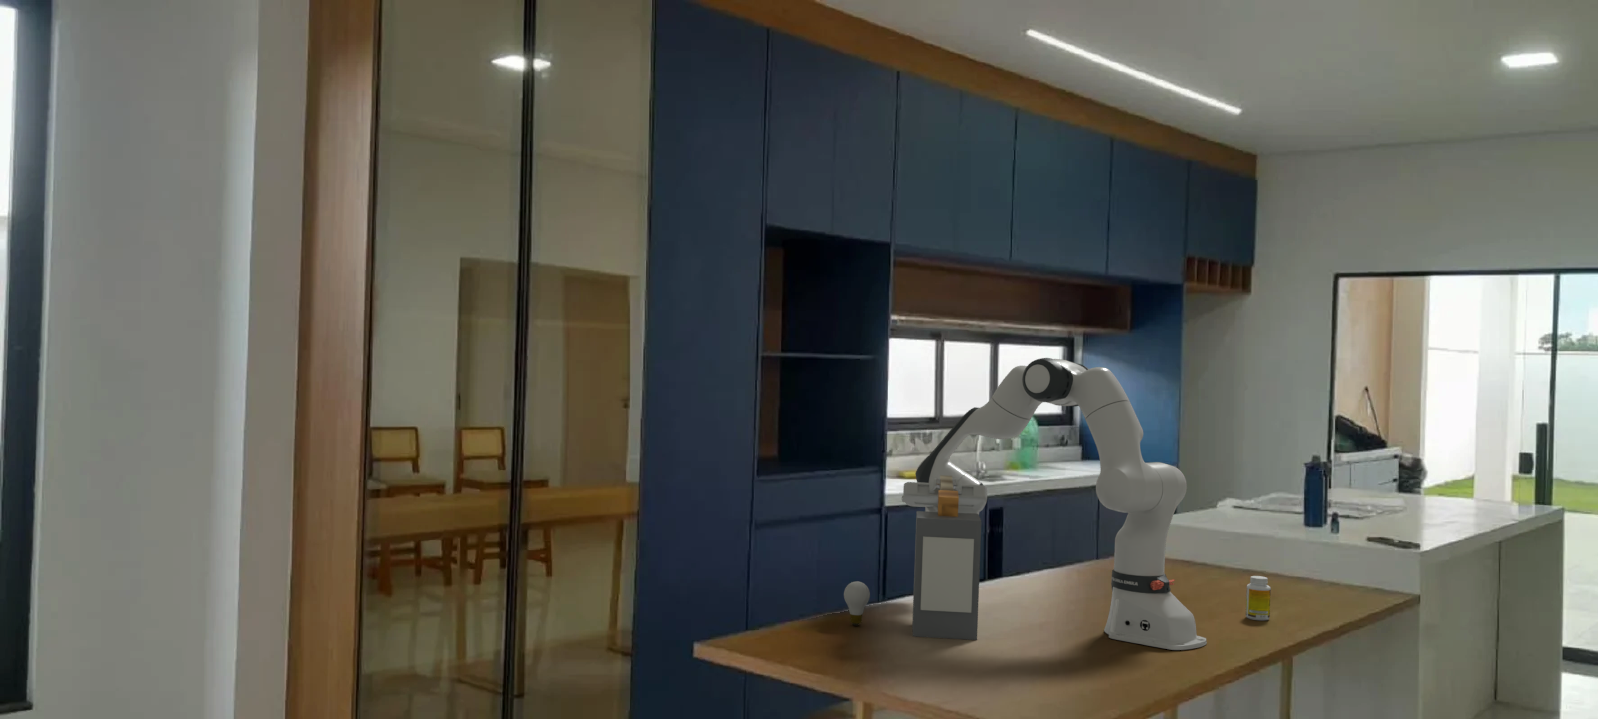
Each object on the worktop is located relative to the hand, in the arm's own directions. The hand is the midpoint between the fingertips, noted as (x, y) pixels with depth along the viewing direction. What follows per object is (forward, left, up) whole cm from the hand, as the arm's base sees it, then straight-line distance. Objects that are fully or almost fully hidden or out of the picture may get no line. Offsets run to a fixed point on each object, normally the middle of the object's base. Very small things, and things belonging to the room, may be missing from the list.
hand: (946, 481), depth 285 cm
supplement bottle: (-43, -67, -32) cm, 86 cm away
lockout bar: (-5, +5, -4) cm, 8 cm away
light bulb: (+3, +25, -32) cm, 41 cm away
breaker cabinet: (-12, +12, -32) cm, 36 cm away
